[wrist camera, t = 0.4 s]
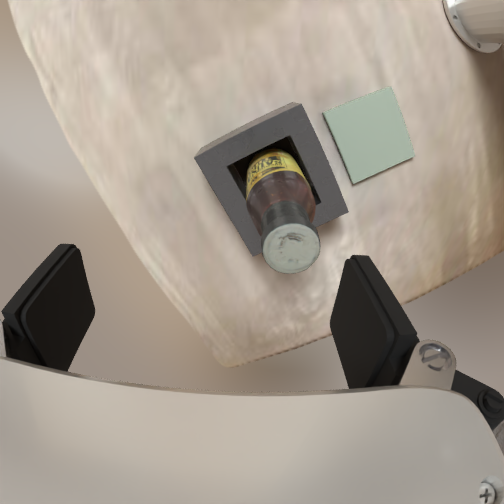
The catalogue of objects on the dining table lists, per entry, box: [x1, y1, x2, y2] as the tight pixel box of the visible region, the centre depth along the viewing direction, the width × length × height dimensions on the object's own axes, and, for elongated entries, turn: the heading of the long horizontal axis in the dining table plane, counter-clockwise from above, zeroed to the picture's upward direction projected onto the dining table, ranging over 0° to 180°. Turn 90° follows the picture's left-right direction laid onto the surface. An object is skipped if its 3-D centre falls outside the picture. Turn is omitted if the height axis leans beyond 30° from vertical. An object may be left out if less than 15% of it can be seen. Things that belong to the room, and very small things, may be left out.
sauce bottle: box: [246, 147, 320, 274], centre depth 29 cm, size 7×6×20 cm
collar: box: [194, 102, 349, 256], centre depth 35 cm, size 12×13×6 cm
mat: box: [322, 87, 415, 184], centre depth 35 cm, size 10×10×1 cm
